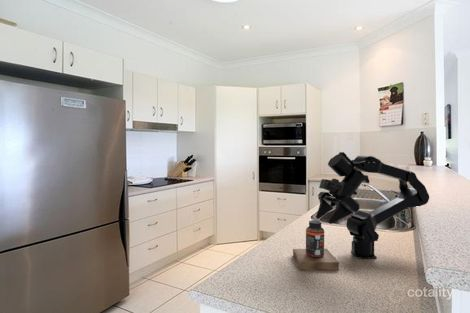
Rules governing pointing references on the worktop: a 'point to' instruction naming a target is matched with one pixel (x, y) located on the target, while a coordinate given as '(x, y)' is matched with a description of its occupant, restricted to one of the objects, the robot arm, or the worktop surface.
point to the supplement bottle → (315, 239)
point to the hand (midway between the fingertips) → (322, 220)
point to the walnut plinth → (315, 261)
